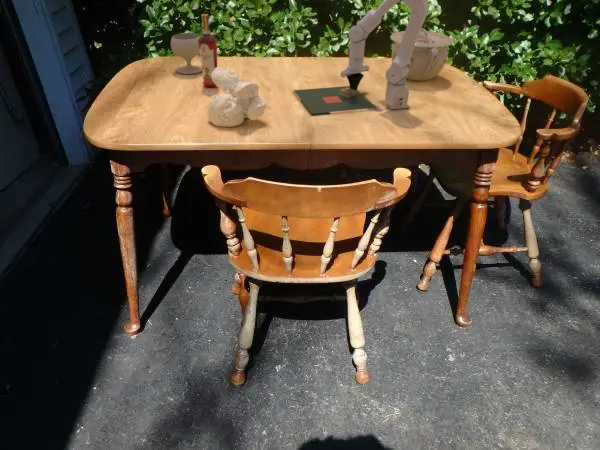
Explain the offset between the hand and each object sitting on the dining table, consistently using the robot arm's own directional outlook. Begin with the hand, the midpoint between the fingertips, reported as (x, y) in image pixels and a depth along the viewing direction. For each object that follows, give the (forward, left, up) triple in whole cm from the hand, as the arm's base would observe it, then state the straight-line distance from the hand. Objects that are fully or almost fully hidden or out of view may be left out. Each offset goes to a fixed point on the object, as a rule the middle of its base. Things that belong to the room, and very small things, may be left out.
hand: (353, 91), depth 193 cm
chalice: (+47, +62, -2) cm, 78 cm away
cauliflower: (-15, +50, -2) cm, 52 cm away
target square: (-5, +11, -2) cm, 12 cm away
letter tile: (-1, +3, -1) cm, 3 cm away
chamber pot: (+17, -37, -2) cm, 41 cm away
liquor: (+24, +55, -2) cm, 60 cm away
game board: (-4, +10, -2) cm, 11 cm away
